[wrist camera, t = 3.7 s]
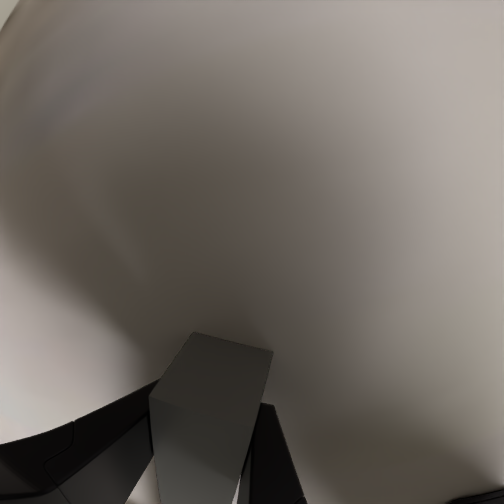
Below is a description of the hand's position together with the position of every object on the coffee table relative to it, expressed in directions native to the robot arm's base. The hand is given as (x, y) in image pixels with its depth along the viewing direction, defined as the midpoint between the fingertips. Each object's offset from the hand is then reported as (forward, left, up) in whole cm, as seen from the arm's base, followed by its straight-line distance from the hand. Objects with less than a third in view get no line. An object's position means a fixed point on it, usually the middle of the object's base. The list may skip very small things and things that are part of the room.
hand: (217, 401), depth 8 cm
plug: (+10, 0, -1) cm, 10 cm away
